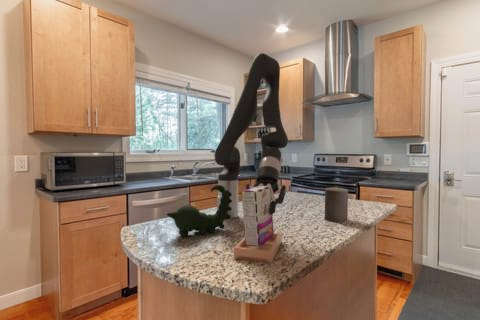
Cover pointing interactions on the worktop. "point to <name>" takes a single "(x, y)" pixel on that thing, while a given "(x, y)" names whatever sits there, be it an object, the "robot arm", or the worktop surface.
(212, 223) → the toy figurine
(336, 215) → the pillar candle
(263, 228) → the candy bar box
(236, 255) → the terracotta tray
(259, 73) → the robot arm
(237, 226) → the worktop surface
